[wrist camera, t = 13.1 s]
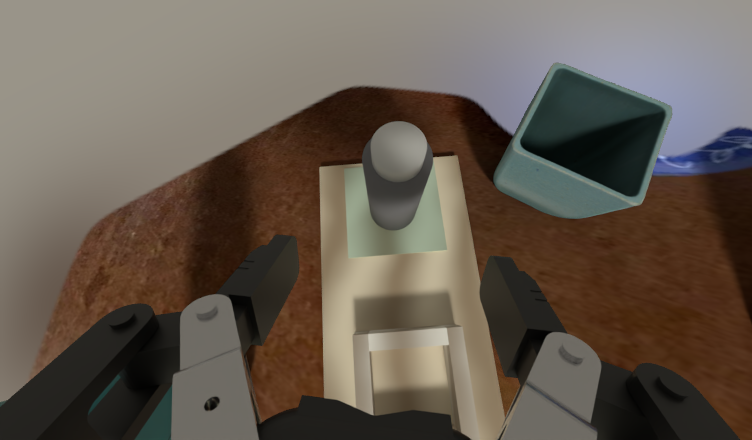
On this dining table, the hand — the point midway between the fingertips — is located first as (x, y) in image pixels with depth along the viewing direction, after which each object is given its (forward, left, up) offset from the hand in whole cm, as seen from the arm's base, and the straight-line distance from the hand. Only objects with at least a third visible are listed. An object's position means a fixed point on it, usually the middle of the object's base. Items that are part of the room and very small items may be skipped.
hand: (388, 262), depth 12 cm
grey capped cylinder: (-1, -7, -13) cm, 15 cm away
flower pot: (-15, -9, -14) cm, 23 cm away
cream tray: (-1, +1, -14) cm, 14 cm away
